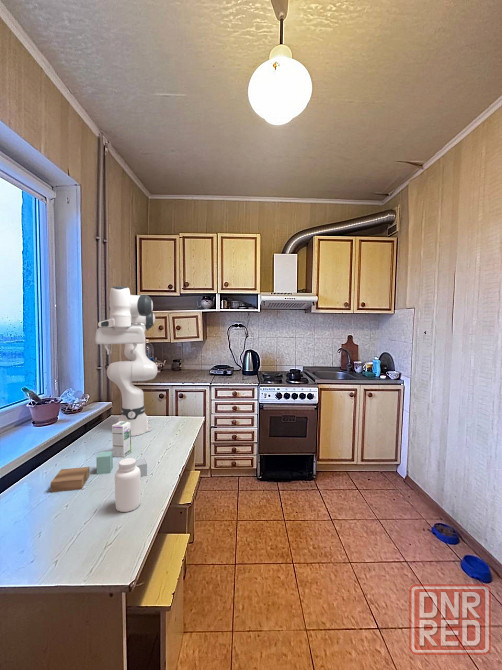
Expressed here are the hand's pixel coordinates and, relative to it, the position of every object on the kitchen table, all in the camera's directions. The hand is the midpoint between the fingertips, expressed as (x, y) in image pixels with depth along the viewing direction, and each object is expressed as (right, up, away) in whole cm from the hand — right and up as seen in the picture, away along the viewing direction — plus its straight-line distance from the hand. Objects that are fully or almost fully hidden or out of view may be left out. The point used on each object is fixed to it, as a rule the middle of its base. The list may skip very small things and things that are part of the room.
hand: (121, 354), depth 137 cm
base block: (-10, -48, -21) cm, 53 cm away
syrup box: (-1, -46, +5) cm, 46 cm away
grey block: (+13, -47, -14) cm, 51 cm away
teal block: (-2, -47, -11) cm, 48 cm away
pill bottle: (+17, -48, -34) cm, 62 cm away
